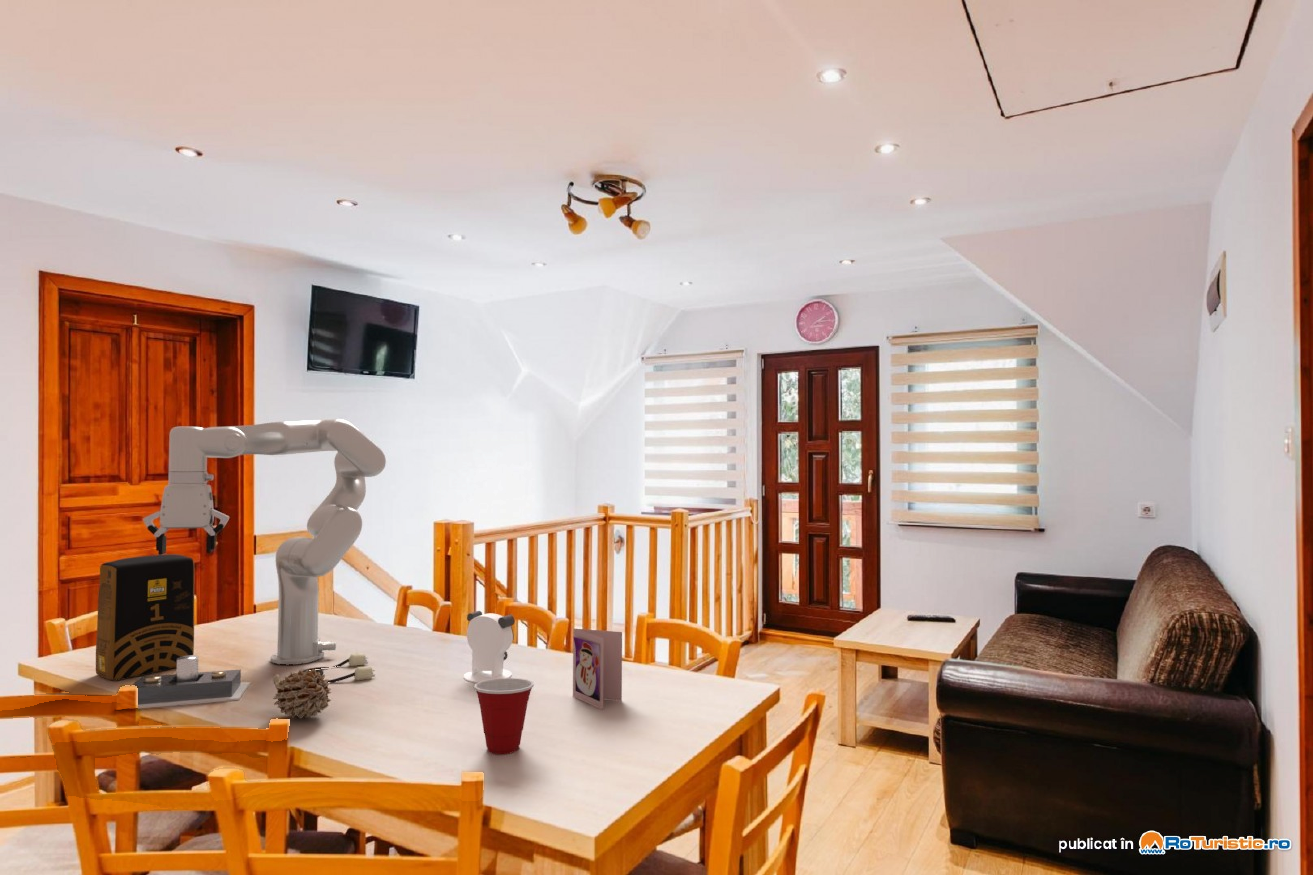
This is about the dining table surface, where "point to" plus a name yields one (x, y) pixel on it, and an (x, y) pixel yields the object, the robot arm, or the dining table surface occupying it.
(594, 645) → the greeting card
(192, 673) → the pin
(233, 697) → the mat
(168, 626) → the black product box
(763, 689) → the dining table surface
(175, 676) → the gray slotted block
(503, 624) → the panda figurine
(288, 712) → the pine cone
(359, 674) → the cable
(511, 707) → the plastic cup
